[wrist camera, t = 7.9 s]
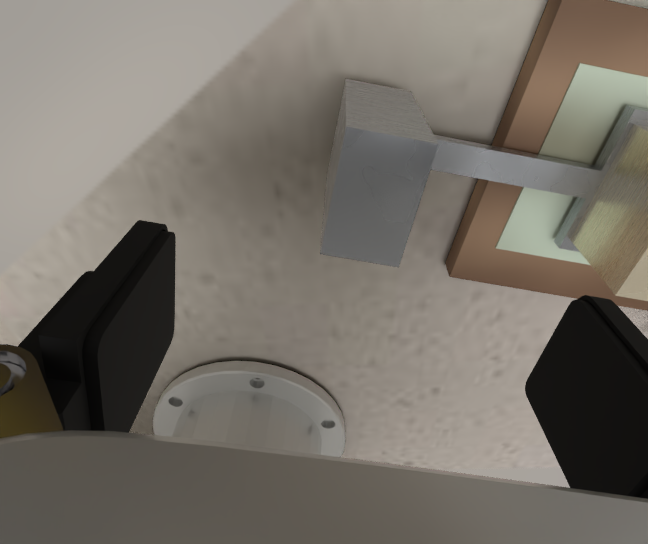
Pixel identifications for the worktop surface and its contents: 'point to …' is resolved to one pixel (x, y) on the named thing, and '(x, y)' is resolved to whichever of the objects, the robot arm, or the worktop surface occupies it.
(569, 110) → the board
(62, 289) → the worktop surface
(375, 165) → the grey dumbbell
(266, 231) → the worktop surface
